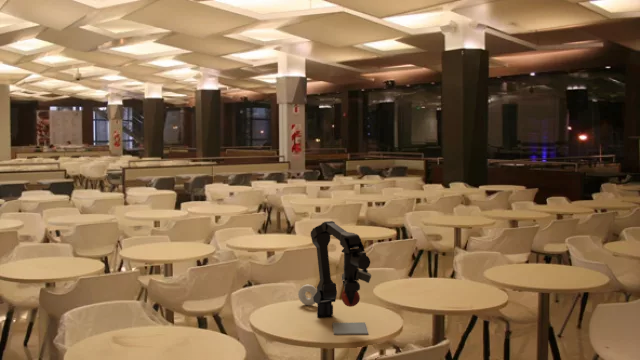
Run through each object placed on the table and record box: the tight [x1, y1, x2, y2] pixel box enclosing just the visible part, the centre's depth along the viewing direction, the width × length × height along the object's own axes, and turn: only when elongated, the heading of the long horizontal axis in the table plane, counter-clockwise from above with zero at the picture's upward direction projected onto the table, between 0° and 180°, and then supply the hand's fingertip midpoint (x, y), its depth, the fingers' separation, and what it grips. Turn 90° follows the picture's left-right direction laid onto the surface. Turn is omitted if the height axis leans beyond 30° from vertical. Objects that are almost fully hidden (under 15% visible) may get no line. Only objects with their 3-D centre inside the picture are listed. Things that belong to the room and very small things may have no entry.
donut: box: [297, 283, 317, 306], centre depth 319 cm, size 10×4×10 cm, turn 70°
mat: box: [332, 321, 369, 336], centre depth 285 cm, size 14×14×1 cm
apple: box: [341, 289, 361, 307], centre depth 284 cm, size 7×8×8 cm
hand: (350, 301), depth 284 cm, fingers closed on apple, 7 cm apart
